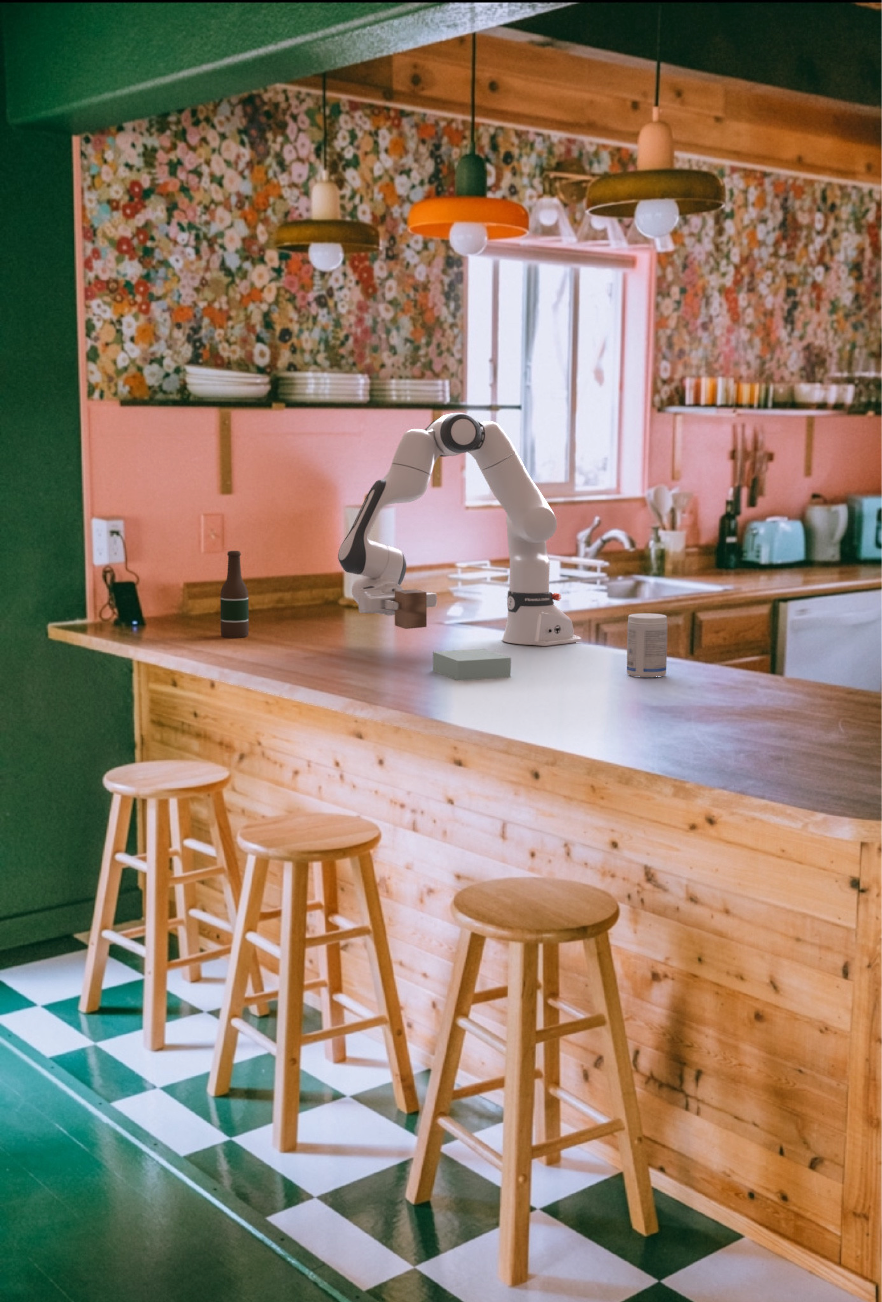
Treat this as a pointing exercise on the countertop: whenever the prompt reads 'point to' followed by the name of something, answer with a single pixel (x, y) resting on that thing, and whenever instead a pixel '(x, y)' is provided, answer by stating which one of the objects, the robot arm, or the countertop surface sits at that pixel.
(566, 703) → the countertop surface
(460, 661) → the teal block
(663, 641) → the supplement tub
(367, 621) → the countertop surface
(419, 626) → the walnut box
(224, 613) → the beer bottle
